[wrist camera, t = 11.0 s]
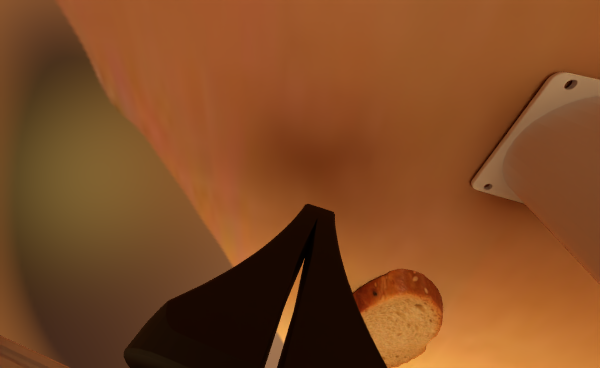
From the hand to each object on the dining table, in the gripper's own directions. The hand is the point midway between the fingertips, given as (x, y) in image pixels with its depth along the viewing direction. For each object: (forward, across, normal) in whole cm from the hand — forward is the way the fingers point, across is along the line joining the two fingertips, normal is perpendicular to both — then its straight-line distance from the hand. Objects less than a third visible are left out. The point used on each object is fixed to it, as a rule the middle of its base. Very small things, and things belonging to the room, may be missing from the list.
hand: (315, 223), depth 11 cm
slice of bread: (+10, -10, +22) cm, 26 cm away
